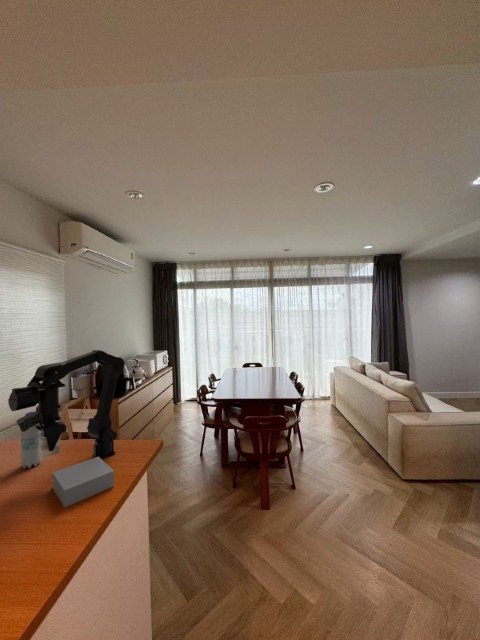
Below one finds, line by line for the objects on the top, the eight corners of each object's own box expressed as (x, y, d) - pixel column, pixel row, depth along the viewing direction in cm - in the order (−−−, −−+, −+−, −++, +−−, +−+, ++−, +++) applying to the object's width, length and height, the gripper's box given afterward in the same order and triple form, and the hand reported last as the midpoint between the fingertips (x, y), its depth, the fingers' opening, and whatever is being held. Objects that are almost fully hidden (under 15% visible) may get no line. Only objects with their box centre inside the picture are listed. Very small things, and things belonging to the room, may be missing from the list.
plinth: (98, 470, 99) (98, 456, 99) (114, 486, 89) (113, 470, 89) (52, 487, 89) (52, 472, 89) (64, 507, 79) (64, 490, 79)
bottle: (46, 462, 105) (45, 410, 105) (28, 471, 99) (27, 415, 99) (34, 459, 108) (33, 408, 108) (15, 468, 101) (14, 414, 101)
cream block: (56, 448, 96) (55, 431, 96) (59, 452, 93) (59, 435, 93) (38, 453, 93) (38, 435, 93) (41, 458, 89) (41, 439, 89)
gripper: (14, 402, 94) (14, 448, 94) (23, 414, 81) (23, 467, 81) (52, 395, 102) (53, 437, 102) (66, 406, 89) (67, 454, 89)
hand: (49, 448), depth 93 cm, fingers closed on cream block, 5 cm apart
